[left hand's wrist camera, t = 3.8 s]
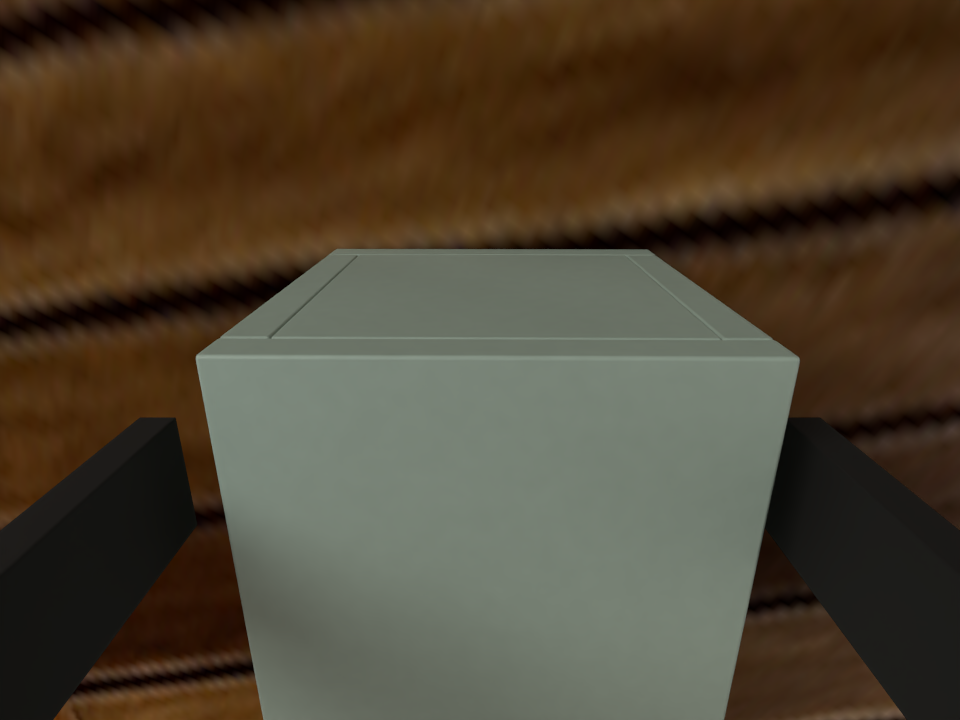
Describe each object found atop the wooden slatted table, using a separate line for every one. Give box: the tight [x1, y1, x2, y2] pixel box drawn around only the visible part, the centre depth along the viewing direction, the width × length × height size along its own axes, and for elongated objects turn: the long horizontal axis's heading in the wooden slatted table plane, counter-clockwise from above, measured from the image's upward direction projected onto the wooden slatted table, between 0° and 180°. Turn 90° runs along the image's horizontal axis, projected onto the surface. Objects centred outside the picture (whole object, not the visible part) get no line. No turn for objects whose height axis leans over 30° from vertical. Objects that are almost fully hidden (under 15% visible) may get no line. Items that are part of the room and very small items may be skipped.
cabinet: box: [196, 249, 800, 720], centre depth 18 cm, size 17×10×10 cm, turn 0°
